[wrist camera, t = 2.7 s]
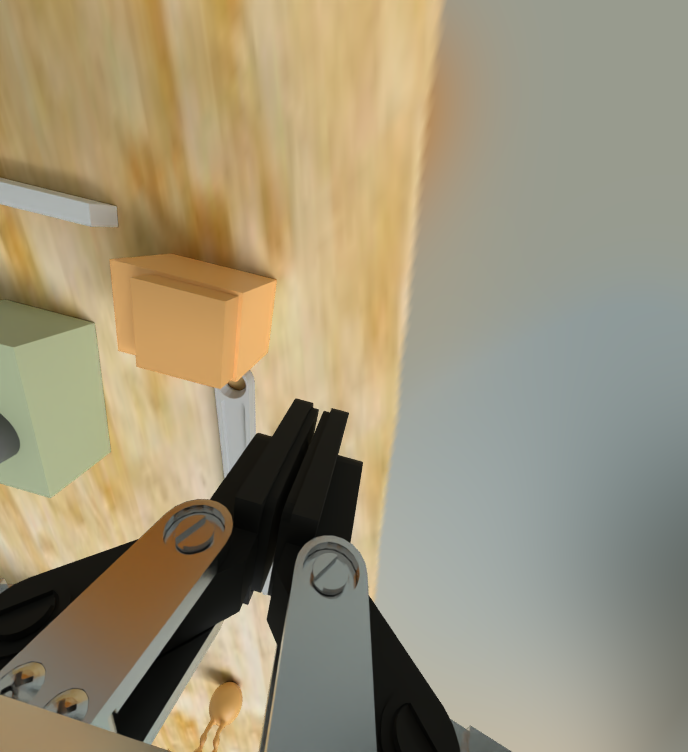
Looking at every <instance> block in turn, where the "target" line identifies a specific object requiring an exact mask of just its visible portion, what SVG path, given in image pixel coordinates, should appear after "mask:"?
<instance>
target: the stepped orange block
mask: <svg viewBox="0 0 688 752" xmlns="http://www.w3.org/2000/svg"><path fill="white" fill-rule="evenodd" d="M110 269H111V280H112V290H113V301H114V311H115V322H116V332H117V342H118V351H121V352H125V353H129V354H132V355H136V366H137V367H140V368H143V369H147V370H151V371H155V372H158V373H162V374H166V375H169V376H173V377H177V378H181V379H184V380H188V381H192V382H196V383H199V384H203V385H207V386H211V387H214V388H218V389H221V388H222V387H224V386H225V385H226V384H227V383H228V382H229V381H234V382H237V381H238V380H239V379H240V378H241V377H242V376H243V375H244V374H245V373H246V372H248V371H249V370H250V369H251V368H252V367H253V366H254V365H255V364H256V363H257V362H258V361H259V360H260V359H261V358H263V357H264V356H265V355H266V354H267V353H268V348H269V340H270V332H271V323H272V315H273V307H274V298H275V290H276V282H277V280H275V279H271V278H267V277H263V276H259V275H255V274H251V273H247V272H243V271H239V270H235V269H232V268H228V267H224V266H220V265H216V264H212V263H208V262H204V261H200V260H196V259H192V258H188V257H184V256H180V255H176V254H172V253H171V254H161V255H150V256H139V257H128V258H118V259H110Z"/></svg>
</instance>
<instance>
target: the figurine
mask: <svg viewBox="0 0 688 752" xmlns="http://www.w3.org/2000/svg"><path fill="white" fill-rule="evenodd" d="M241 706H242V692H241V689H240V687H239V686H238V685H237V684H236V683H234V682H226V683H223V684H222V685H220V686H219V687H218V688H217V689H216V690H215V692H214V694H213V695H212V698H211V701H210V705H209V714H210V718H211V720H210V722H209V724H208V726H207V727H206V729H205V731H204V733H203V734H202V736H201V738H200V746H199V747H198V748H197V749H196V750H195V751H194V752H202V748H203V745H204V743H205V741H206V739H207V733H208V731H209V730H210V728H211V727H212V726H213V725H215V724H216V725H217V726H219V728H218V730H217V732H216V736H215V738H214V740H213V746H214V750H213V751H212V752H217V748H218V745H219V741H220V739H219V734H220V732H221V731H222V729H223V728H225V726H226V725H229V724H230V723H231V722H233V721H234V720H235V718H236V717H237V716H238V714H239V712H240V709H241ZM168 750H169V749H168ZM169 751H170V750H169Z"/></svg>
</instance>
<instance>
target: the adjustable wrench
mask: <svg viewBox="0 0 688 752" xmlns="http://www.w3.org/2000/svg"><path fill="white" fill-rule="evenodd" d="M242 377H243V379H244V381H245V383H246V387H245V388H244V389H243V390H241V391H238V390H235V389H233V388H231V387H230V386H229V385H228V383H227V384H226V385H225V386H224V387H222V388H221V389H218V388H215V398H216V407H217V416H218V425H219V434H220V443H221V452H222V461H223V470H224V479H225V477H226V476H227V474H228V473H229V472H230V470H231V469H232V467H233V466H234V464H235V463H236V462H237V460H238V459H239V457H240V456H241V454H242V453H243V451H244V450H245V449H246V447H247V446H248V444H249V443H250V441H251V440H252V439H253V437H254V436H255V435H256V420H255V381H254V376H253V374H252V372H251V371H250V370H249V371H248V372H246V373H245V374H244V375H243V376H242ZM272 566H273V564H272ZM272 566H271V569H270V572H269V574H268V577H267V579H266V582H265V585H264V587H263V590H262V593H263V594H264V595H267V594H268V588H269V583H270V577H271V571H272Z"/></svg>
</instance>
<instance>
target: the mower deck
mask: <svg viewBox="0 0 688 752" xmlns="http://www.w3.org/2000/svg"><path fill="white" fill-rule="evenodd" d="M0 204H2V205H6V206H10V207H14V208H18V209H22V210H26V211H30V212H34V213H38V214H42V215H46V216H50V217H54V218H58V219H62V220H66V221H70V222H74V223H78V224H82V225H86V226H90V227H118V217H117V206H114V205H110V204H106V203H102V202H98V201H94V200H90V199H86V198H81V197H77V196H73V195H69V194H65V193H61V192H57V191H53V190H49V189H45V188H41V187H37V186H33V185H28V184H24V183H20V182H16V181H12V180H8V179H4V178H0ZM110 452H111V449H110V441H109V433H108V425H107V417H106V409H105V401H104V393H103V385H102V377H101V369H100V361H99V354H98V346H97V338H96V330H95V323H93V322H89V321H85V320H81V319H77V318H74V317H70V316H66V315H62V314H58V313H55V312H51V311H47V310H43V309H39V308H36V307H32V306H28V305H24V304H20V303H17V302H13V301H9V300H1V301H0V484H4V485H7V486H10V487H14V488H17V489H21V490H24V491H28V492H31V493H35V494H38V495H42V496H45V497H48V498H52V497H53V496H54V495H55V494H57V493H58V492H59V491H61V490H62V489H63V488H65V487H66V486H67V485H68V484H70V483H71V482H72V481H74V480H75V479H76V478H78V477H79V476H80V475H81V474H83V473H84V472H85V471H87V470H88V469H89V468H91V467H92V466H93V465H94V464H96V463H97V462H98V461H100V460H101V459H102V458H103V457H105V456H106V455H107V454H109V453H110Z"/></svg>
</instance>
